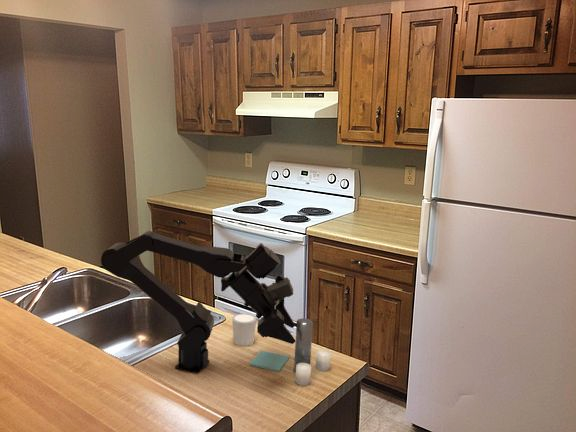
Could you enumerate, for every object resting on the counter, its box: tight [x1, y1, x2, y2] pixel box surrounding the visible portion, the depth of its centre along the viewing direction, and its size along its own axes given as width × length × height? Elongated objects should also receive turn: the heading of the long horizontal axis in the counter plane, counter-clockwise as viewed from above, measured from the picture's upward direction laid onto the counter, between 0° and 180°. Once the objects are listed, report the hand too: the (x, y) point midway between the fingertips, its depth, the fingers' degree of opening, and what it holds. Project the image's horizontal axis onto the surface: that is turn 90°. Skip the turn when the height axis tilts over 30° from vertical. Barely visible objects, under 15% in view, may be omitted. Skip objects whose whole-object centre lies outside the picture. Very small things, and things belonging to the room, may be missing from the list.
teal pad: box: [249, 350, 290, 372], centre depth 127 cm, size 8×8×1 cm
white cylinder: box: [231, 313, 257, 347], centre depth 137 cm, size 7×7×7 cm
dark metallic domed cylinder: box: [293, 318, 314, 373], centre depth 122 cm, size 4×4×13 cm
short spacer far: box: [315, 349, 332, 372], centre depth 124 cm, size 4×4×4 cm
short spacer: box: [294, 363, 312, 387], centre depth 117 cm, size 4×4×4 cm
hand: (293, 334), depth 121 cm, fingers open, 9 cm apart
